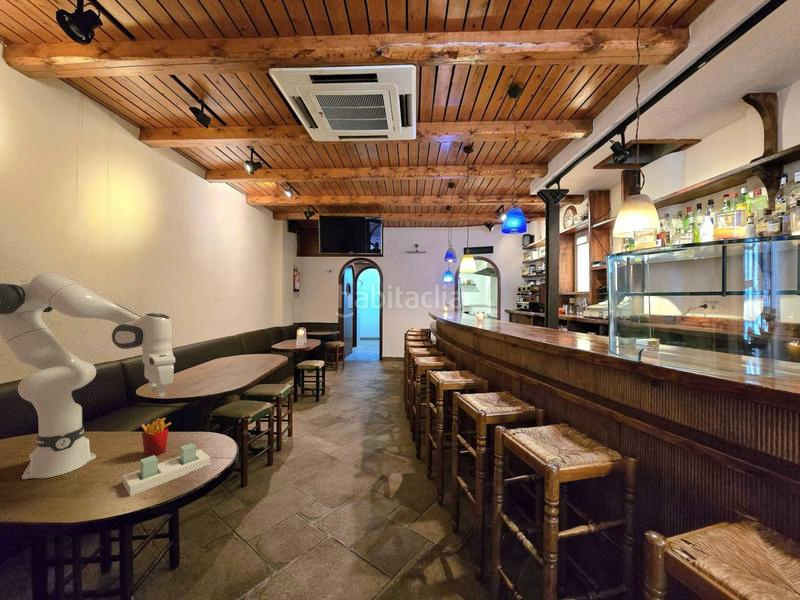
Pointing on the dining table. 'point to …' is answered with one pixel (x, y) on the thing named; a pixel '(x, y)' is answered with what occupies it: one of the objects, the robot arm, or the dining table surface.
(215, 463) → the dining table surface
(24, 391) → the robot arm
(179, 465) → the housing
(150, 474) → the block
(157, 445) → the french fries
